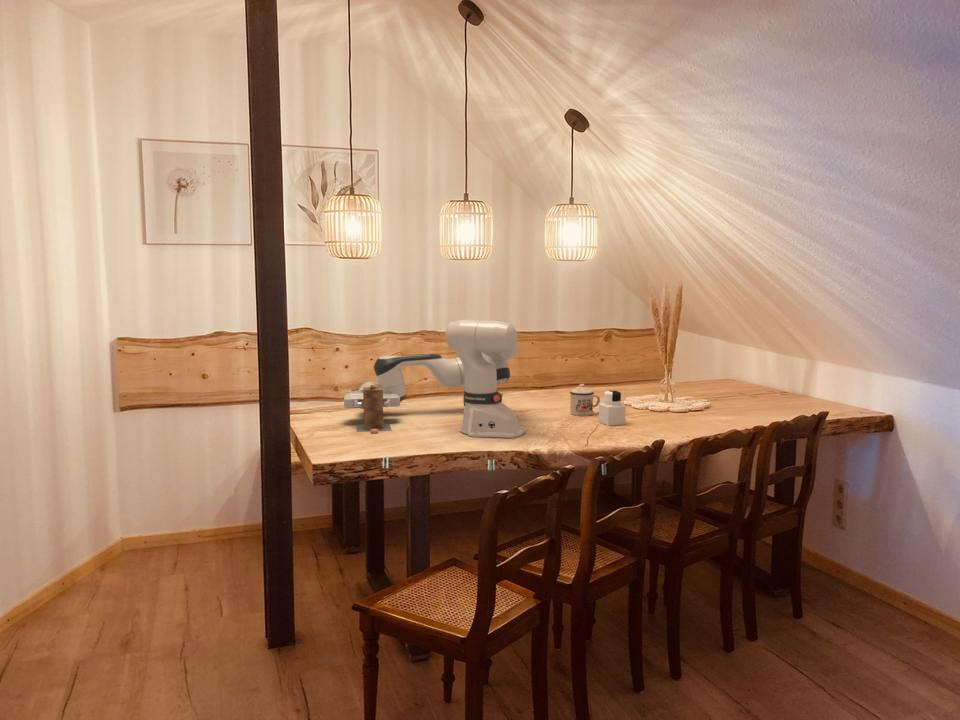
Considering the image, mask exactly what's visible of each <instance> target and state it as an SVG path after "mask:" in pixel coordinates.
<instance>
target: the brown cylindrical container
mask: <svg viewBox="0 0 960 720" xmlns="http://www.w3.org/2000/svg"><path fill="white" fill-rule="evenodd" d="M363 401H364V409H363V424H364V430H371V429H383V424H384V407H383V389H382V387H375V385H370V387H363Z"/></svg>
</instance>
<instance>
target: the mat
mask: <svg viewBox="0 0 960 720" xmlns="http://www.w3.org/2000/svg"><path fill="white" fill-rule="evenodd" d="M355 427H356V433H363V432H365V433H366V432H370V433H371V430H364V423H361V424H359V423H358V424H357V423H356V425H355ZM391 427H392V426H391V423H389V422H388V423H387V422H386V423H385V422H383V429H378V432H392V428H391Z"/></svg>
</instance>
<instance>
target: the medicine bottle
mask: <svg viewBox="0 0 960 720" xmlns="http://www.w3.org/2000/svg"><path fill="white" fill-rule="evenodd" d="M603 395H604V396H603V402H602V403H601V402H599V404H598V422H599V424H603V425H605V426H608V427H613V426H614V427H615V426H624V425H626V405H625V404H622V403H621V401H622V393H621V392H620V391H618V390H606V391H604V393H603Z"/></svg>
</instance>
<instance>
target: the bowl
mask: <svg viewBox="0 0 960 720" xmlns="http://www.w3.org/2000/svg"><path fill="white" fill-rule="evenodd" d="M370 433H371V434H374V435H375V434H379V431H378V429H371V431H370Z"/></svg>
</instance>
